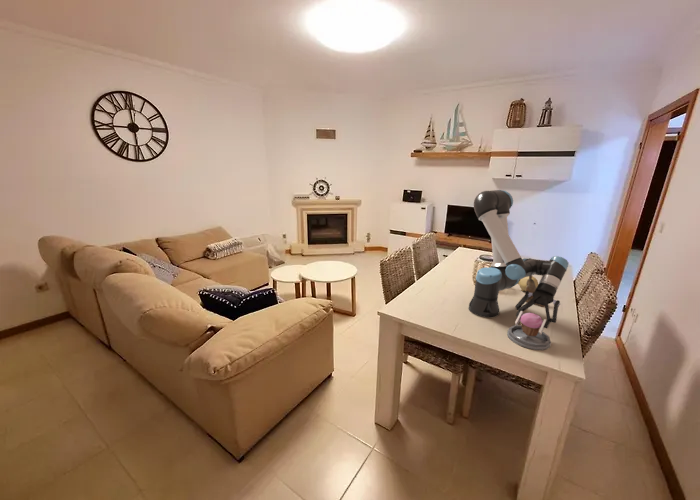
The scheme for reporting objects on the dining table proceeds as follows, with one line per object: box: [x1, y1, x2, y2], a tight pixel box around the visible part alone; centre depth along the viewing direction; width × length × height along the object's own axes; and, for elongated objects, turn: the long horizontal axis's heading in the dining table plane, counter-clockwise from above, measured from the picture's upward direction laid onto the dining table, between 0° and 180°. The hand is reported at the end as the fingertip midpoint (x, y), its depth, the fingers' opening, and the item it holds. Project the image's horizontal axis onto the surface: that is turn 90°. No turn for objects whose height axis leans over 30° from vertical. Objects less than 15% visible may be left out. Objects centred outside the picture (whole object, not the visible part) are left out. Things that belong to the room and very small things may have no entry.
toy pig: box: [516, 275, 539, 292], centre depth 184 cm, size 10×12×11 cm
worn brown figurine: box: [521, 275, 545, 308], centre depth 168 cm, size 12×6×18 cm, turn 36°
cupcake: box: [520, 312, 544, 336], centre depth 131 cm, size 9×9×10 cm
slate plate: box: [506, 324, 552, 351], centre depth 133 cm, size 17×17×2 cm
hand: (527, 328), depth 129 cm, fingers closed on cupcake, 9 cm apart
